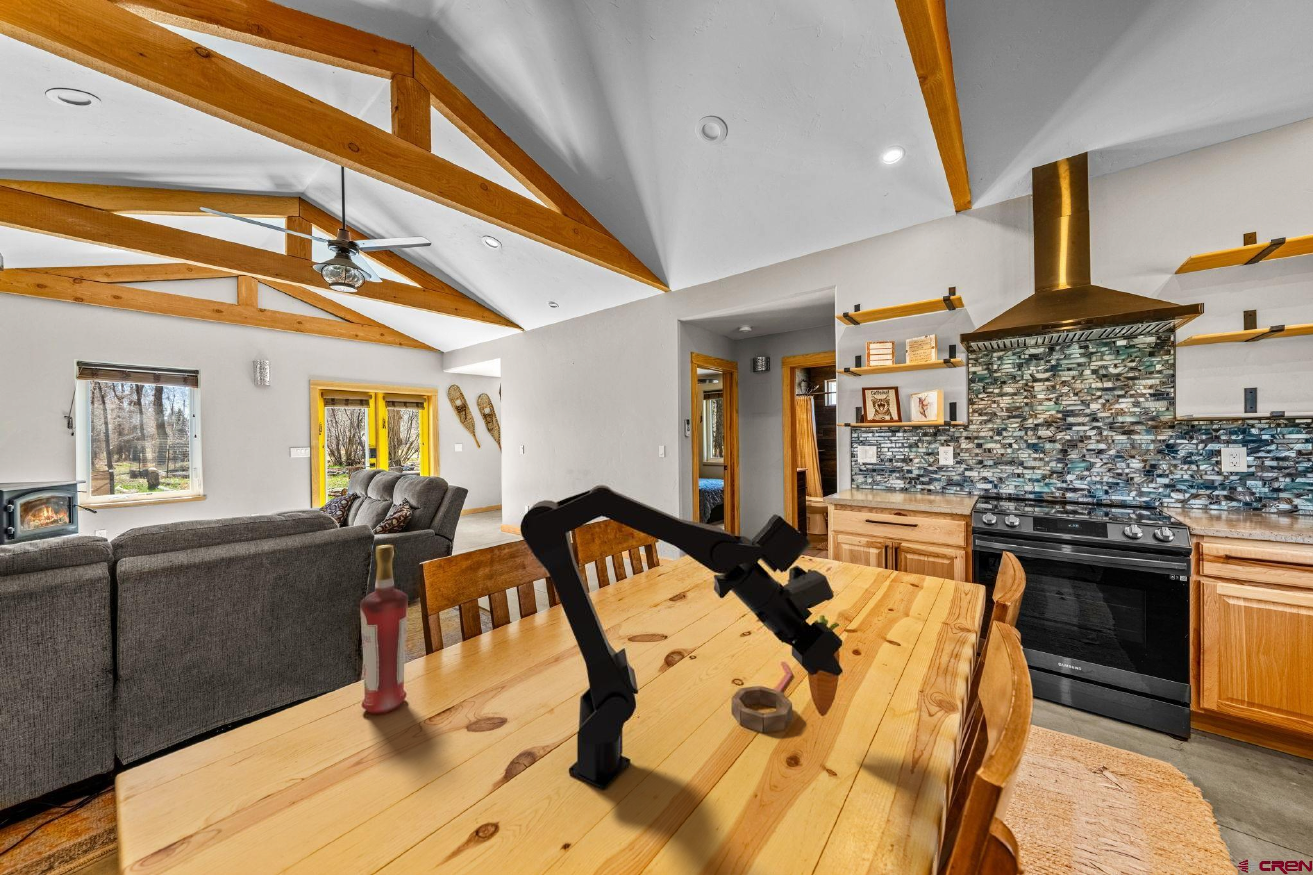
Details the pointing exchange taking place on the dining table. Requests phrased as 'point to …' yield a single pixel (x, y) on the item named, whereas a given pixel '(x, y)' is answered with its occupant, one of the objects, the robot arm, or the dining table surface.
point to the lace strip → (785, 678)
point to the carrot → (824, 682)
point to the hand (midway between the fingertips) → (831, 664)
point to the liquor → (384, 639)
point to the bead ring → (758, 719)
